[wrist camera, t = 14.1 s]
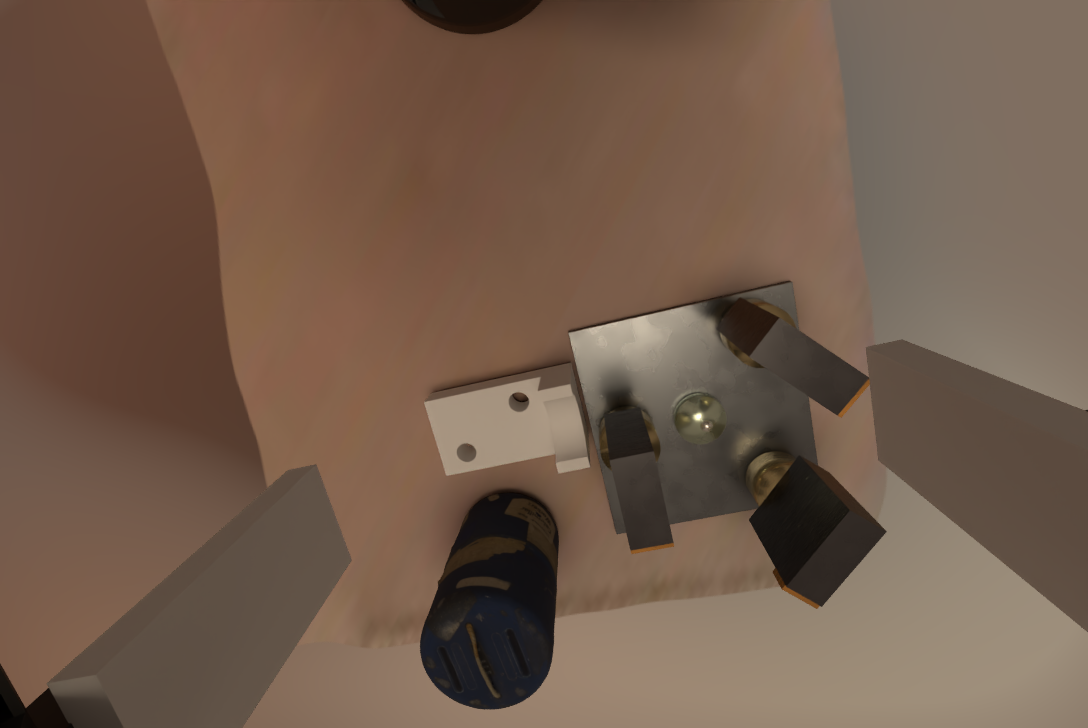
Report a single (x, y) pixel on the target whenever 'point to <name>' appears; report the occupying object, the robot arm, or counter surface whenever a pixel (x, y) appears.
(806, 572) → the brass knob with block
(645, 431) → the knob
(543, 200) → the counter surface
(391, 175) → the counter surface
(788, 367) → the dark grey block
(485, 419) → the bracket
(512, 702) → the canister
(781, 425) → the level plate
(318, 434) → the counter surface
